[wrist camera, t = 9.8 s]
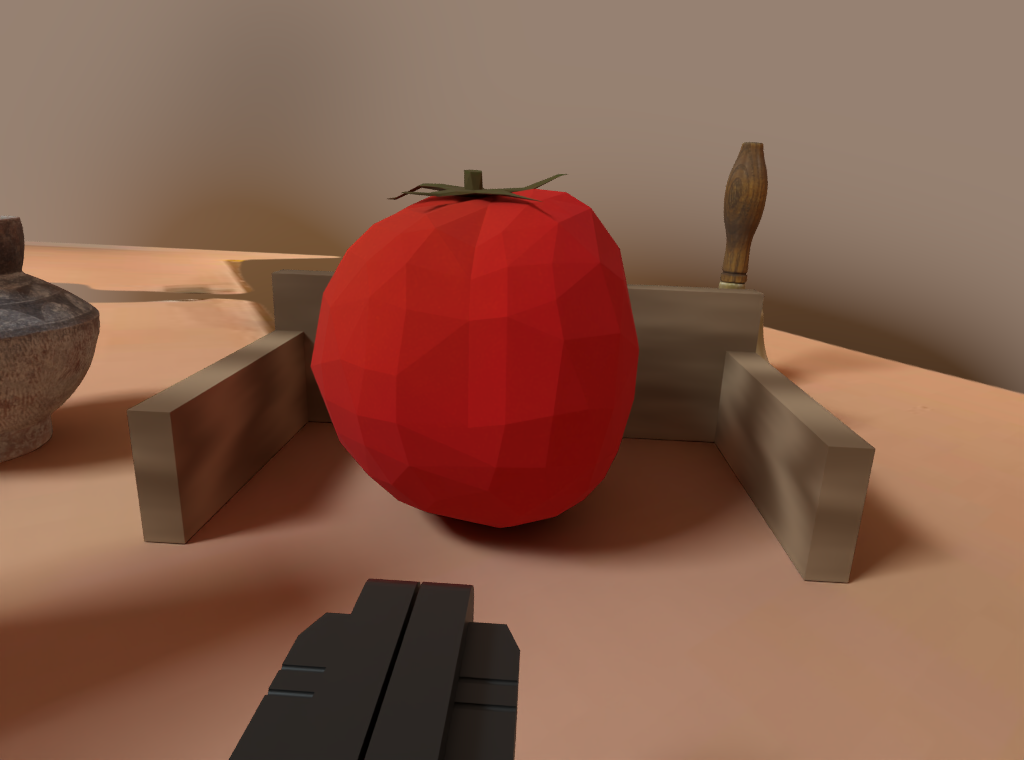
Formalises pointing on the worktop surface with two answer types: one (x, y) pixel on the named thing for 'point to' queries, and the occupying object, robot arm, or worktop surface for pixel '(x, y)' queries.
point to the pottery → (37, 347)
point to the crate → (654, 415)
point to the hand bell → (744, 219)
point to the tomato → (481, 352)
